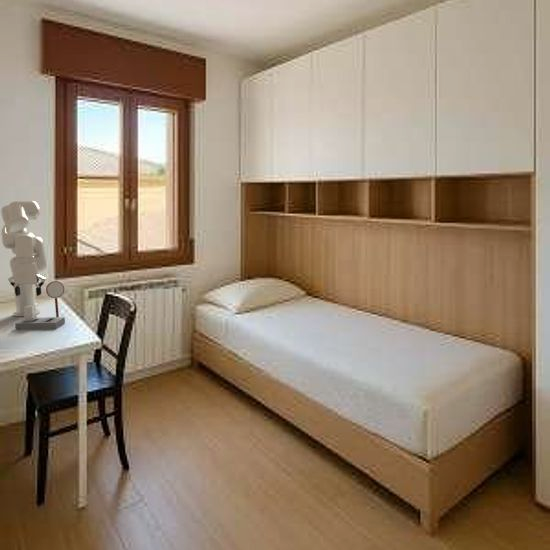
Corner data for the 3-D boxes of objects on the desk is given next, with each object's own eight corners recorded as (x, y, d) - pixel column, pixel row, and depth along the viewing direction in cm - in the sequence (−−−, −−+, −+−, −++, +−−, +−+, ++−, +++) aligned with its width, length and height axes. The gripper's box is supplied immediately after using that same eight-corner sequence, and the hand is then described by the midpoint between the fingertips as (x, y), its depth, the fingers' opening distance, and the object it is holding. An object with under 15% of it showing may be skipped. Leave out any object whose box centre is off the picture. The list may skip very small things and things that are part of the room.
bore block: (26, 323, 241) (25, 317, 240) (65, 322, 242) (64, 317, 241) (15, 329, 230) (14, 323, 230) (56, 328, 231) (55, 322, 230)
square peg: (29, 325, 238) (27, 305, 236) (37, 325, 238) (35, 305, 236) (25, 327, 234) (23, 307, 232) (33, 327, 234) (31, 307, 232)
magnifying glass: (49, 321, 246) (45, 282, 243) (48, 320, 247) (45, 281, 244) (67, 318, 251) (64, 280, 248) (66, 317, 252) (63, 280, 249)
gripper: (2, 261, 227) (6, 297, 230) (40, 261, 227) (43, 297, 230) (10, 259, 234) (13, 293, 237) (47, 259, 235) (49, 293, 238)
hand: (28, 295), depth 234 cm, fingers open, 9 cm apart
